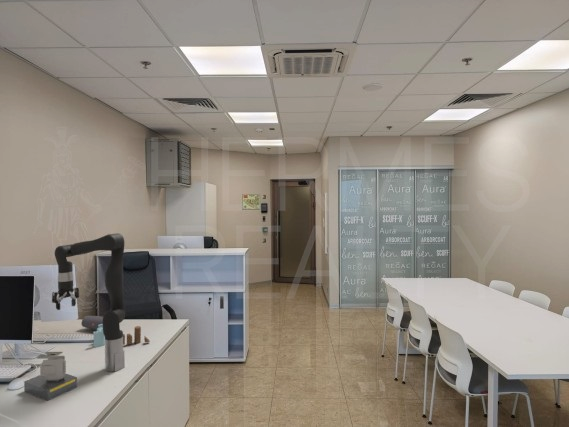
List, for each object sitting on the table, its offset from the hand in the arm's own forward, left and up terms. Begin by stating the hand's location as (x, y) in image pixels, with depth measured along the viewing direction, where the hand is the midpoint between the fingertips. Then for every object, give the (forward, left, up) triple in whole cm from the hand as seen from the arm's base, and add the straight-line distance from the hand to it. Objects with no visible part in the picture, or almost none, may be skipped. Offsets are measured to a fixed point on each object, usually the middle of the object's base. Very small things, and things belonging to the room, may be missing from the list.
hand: (66, 307), depth 203 cm
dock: (-22, +22, -32) cm, 45 cm away
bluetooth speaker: (+35, -45, -32) cm, 66 cm away
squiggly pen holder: (+11, -32, -32) cm, 47 cm away
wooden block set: (-12, -37, -32) cm, 51 cm away
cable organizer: (-24, +22, -27) cm, 42 cm away
